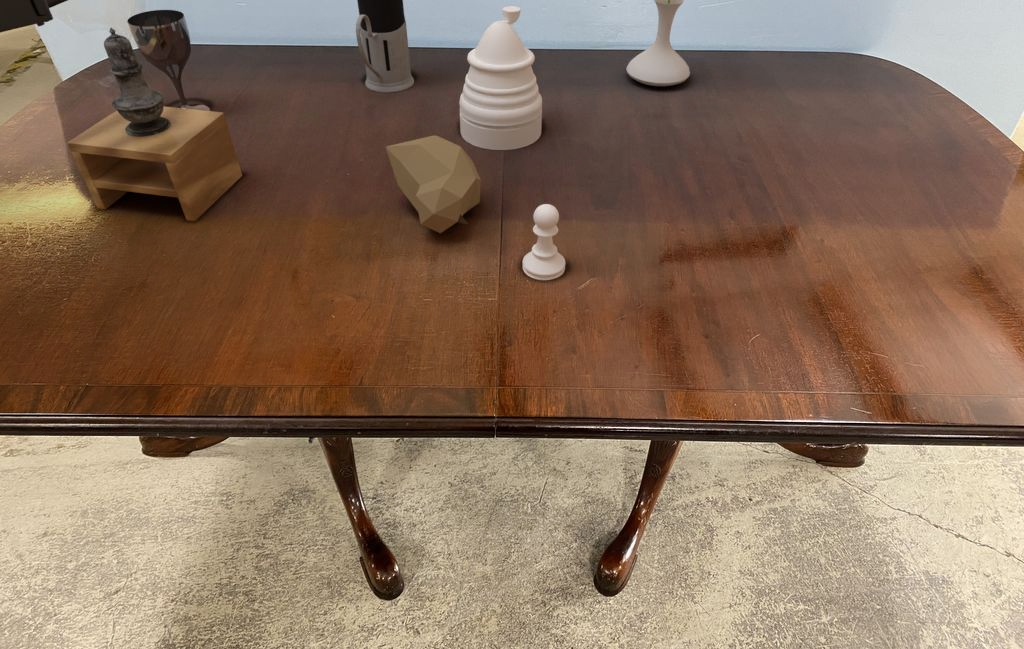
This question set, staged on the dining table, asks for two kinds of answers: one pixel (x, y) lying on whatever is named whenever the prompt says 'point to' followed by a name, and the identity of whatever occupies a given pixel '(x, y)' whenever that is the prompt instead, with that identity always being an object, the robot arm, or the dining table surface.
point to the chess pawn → (544, 246)
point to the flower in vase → (660, 53)
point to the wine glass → (165, 45)
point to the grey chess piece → (134, 90)
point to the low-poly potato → (436, 180)
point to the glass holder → (384, 45)
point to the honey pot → (501, 90)
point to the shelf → (160, 159)
